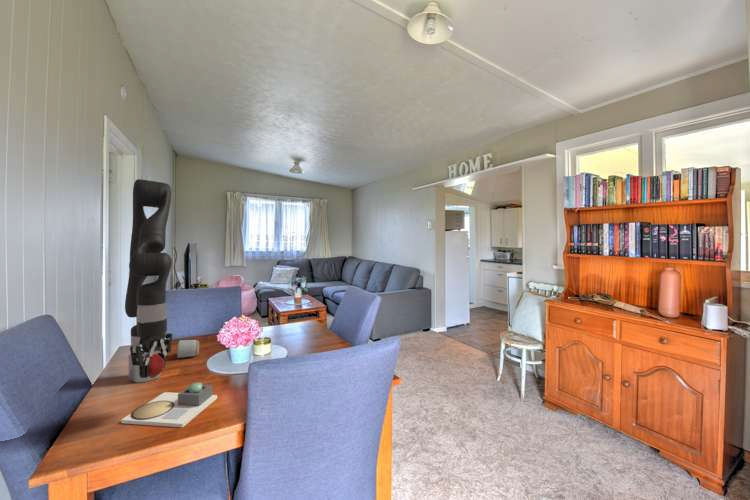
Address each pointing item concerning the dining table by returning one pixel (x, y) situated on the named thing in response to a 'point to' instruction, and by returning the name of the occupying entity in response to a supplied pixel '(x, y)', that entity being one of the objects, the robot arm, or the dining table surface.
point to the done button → (195, 387)
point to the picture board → (166, 411)
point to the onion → (155, 365)
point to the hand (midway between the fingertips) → (153, 372)
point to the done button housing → (194, 396)
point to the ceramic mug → (187, 348)
